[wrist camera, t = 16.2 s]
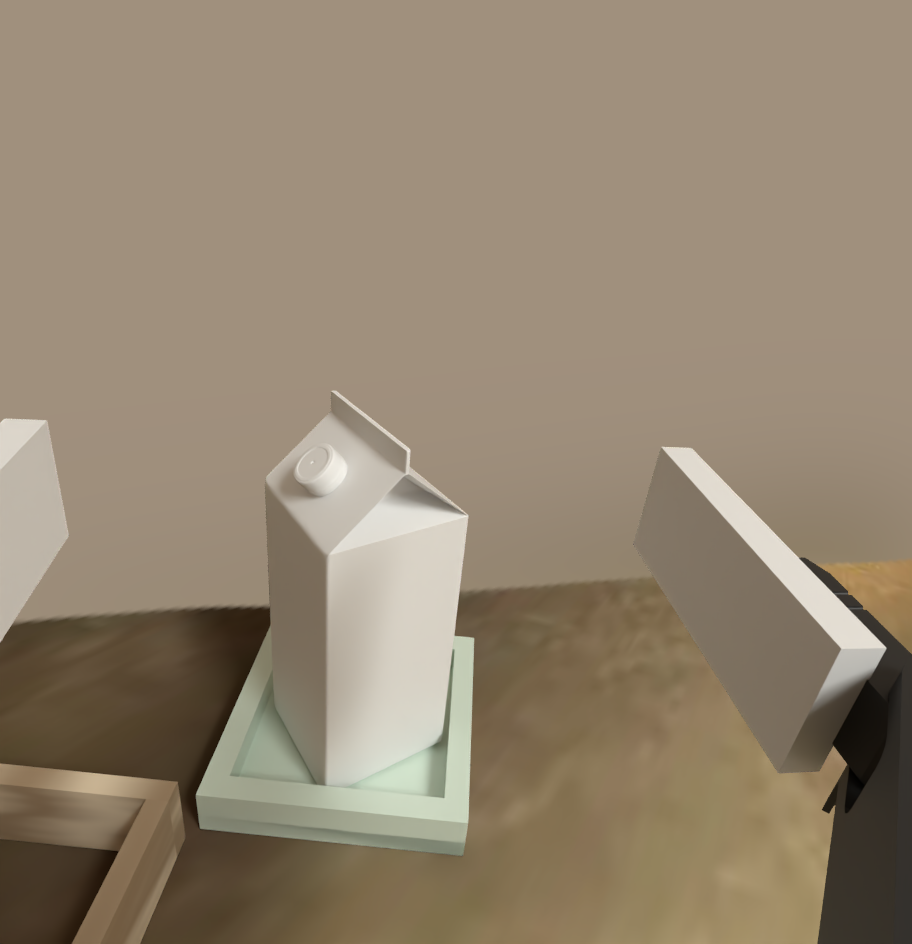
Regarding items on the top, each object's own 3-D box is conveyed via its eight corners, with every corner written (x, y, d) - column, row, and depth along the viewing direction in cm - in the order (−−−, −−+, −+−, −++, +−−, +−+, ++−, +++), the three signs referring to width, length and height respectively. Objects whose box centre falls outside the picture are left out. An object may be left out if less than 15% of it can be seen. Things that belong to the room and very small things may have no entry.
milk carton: (381, 664, 43) (397, 381, 34) (442, 743, 38) (479, 436, 29) (273, 706, 39) (259, 400, 30) (324, 801, 34) (327, 467, 25)
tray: (200, 828, 33) (195, 795, 32) (275, 646, 45) (274, 617, 43) (462, 855, 33) (468, 823, 32) (470, 666, 45) (474, 638, 43)
